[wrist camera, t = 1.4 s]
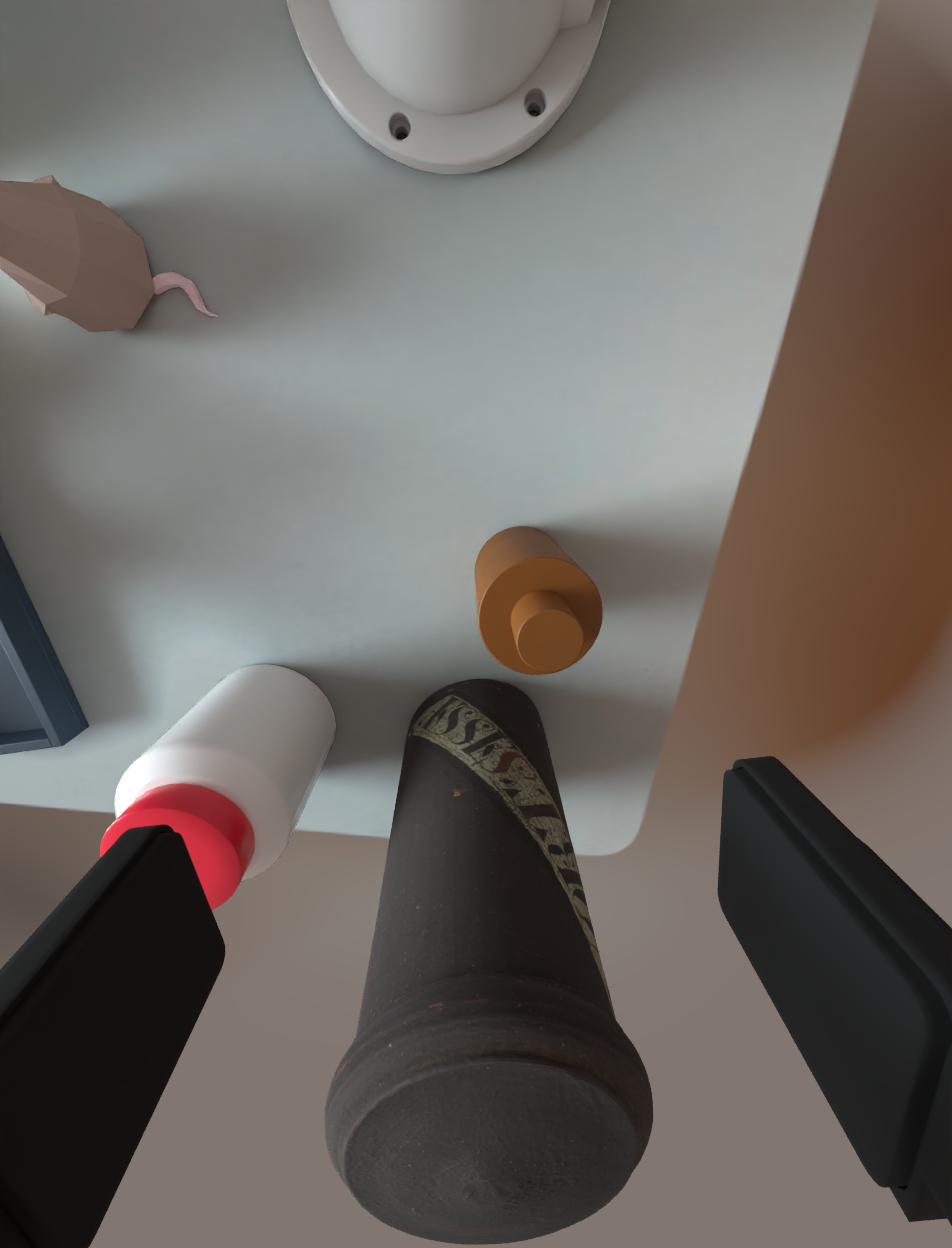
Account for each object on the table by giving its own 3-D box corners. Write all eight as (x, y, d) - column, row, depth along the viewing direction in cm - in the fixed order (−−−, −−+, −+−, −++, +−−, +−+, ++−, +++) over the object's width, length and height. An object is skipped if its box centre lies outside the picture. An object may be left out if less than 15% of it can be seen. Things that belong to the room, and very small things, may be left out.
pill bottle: (200, 659, 29) (50, 778, 18) (335, 668, 29) (262, 788, 19) (213, 772, 31) (88, 932, 21) (337, 779, 32) (274, 939, 21)
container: (574, 721, 31) (750, 1158, 12) (487, 818, 33) (517, 1315, 14) (459, 644, 29) (448, 1017, 10) (376, 753, 31) (238, 1224, 12)
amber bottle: (561, 519, 27) (617, 561, 17) (569, 608, 28) (625, 694, 18) (468, 533, 27) (469, 583, 17) (481, 620, 28) (489, 713, 18)
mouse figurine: (209, 374, 24) (117, 348, 18) (34, 311, 23) (-133, 259, 17) (228, 253, 22) (133, 176, 16) (40, 180, 21) (-141, 66, 15)
